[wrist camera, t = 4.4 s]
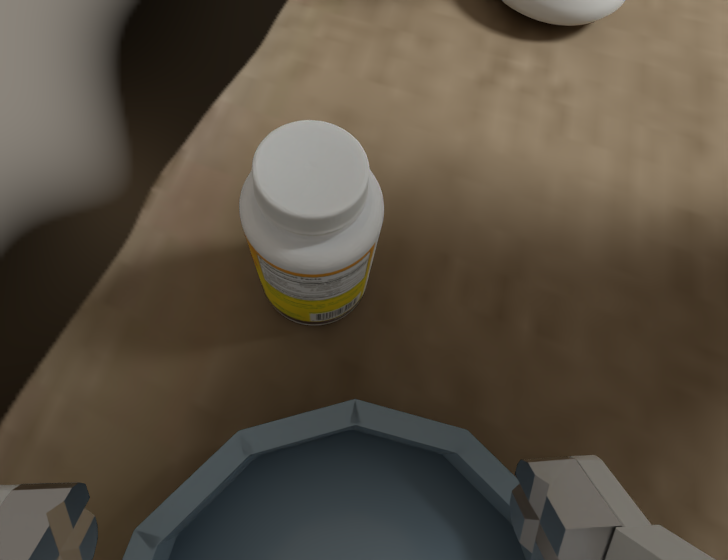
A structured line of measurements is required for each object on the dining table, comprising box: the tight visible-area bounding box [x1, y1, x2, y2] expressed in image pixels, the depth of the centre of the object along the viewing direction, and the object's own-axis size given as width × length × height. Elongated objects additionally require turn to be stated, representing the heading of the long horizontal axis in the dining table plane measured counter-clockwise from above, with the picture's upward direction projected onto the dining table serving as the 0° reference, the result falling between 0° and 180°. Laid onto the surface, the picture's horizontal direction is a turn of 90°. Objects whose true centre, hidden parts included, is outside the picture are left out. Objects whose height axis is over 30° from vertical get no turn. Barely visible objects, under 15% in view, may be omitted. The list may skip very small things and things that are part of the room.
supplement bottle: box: [239, 120, 384, 325], centre depth 20 cm, size 6×6×10 cm
